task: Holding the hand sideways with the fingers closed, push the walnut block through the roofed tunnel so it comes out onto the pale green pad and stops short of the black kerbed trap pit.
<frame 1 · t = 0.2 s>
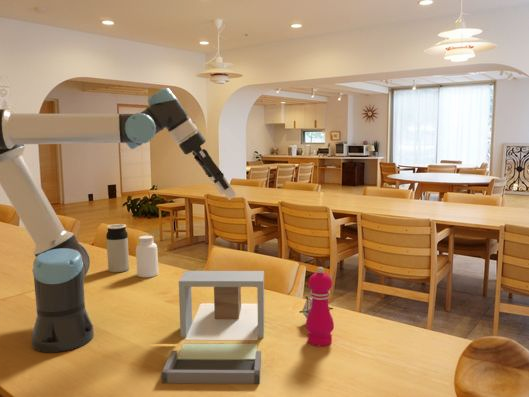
hand: (228, 194, 143), 35 cm above the table, tool tilted 35°, fingers open, 13 cm apart
pill bottle: (147, 275, 179), on the table
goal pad: (219, 349, 118), on the table
travel mug: (118, 270, 186), on the table
walnut block: (228, 313, 139), point 1 cm above the table, touching tunnel
game die: (315, 324, 133), on the table
trap pit: (213, 371, 107), on the table
pepper mill: (319, 341, 122), on the table
tunnel: (223, 332, 128), on the table
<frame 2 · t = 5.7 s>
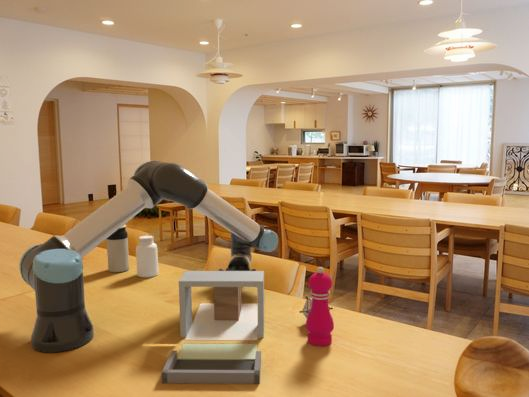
hand: (233, 288, 142), 7 cm above the table, tool horizontal, fingers closed
walnut block: (228, 314, 139), point 1 cm above the table, touching gripper, tunnel
everything else where it was.
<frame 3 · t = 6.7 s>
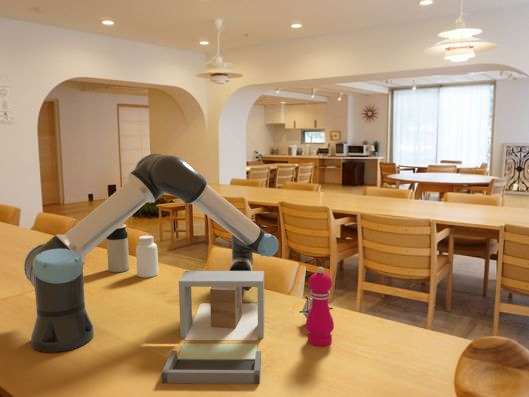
hand: (235, 295, 137), 7 cm above the table, tool horizontal, fingers closed
walnut block: (226, 321, 133), point 1 cm above the table, touching tunnel
everything else where it was.
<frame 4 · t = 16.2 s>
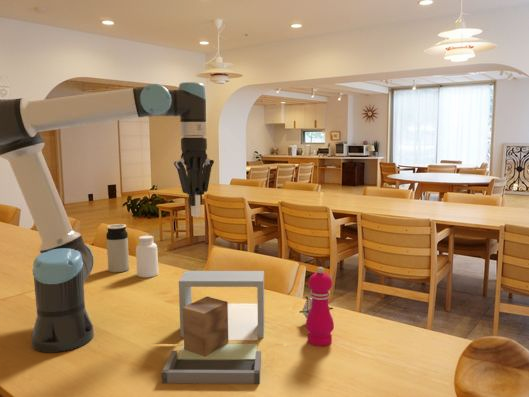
hand: (195, 216, 140), 29 cm above the table, tool pointing down, fingers closed
walnut block: (206, 345, 118), point 1 cm above the table, touching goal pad, tunnel
everything else where it was.
at the end: walnut block 3.4 cm from the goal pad (horizontally); walnut block touching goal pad, tunnel; walnut block tilted 1° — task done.
